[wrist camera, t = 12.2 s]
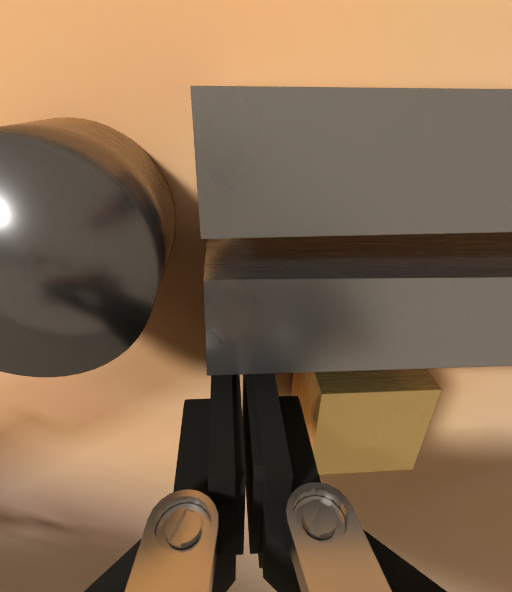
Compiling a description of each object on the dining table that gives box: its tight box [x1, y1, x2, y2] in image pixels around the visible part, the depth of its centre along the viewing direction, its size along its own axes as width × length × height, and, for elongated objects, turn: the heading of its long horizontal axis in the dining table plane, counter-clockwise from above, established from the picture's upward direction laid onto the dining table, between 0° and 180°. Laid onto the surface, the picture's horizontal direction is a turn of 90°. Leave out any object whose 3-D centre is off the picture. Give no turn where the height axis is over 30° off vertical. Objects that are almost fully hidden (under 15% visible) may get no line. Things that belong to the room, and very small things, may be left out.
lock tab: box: [291, 369, 442, 475], centre depth 11 cm, size 3×3×3 cm
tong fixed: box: [0, 118, 512, 377], centre depth 9 cm, size 24×6×4 cm, turn 89°
